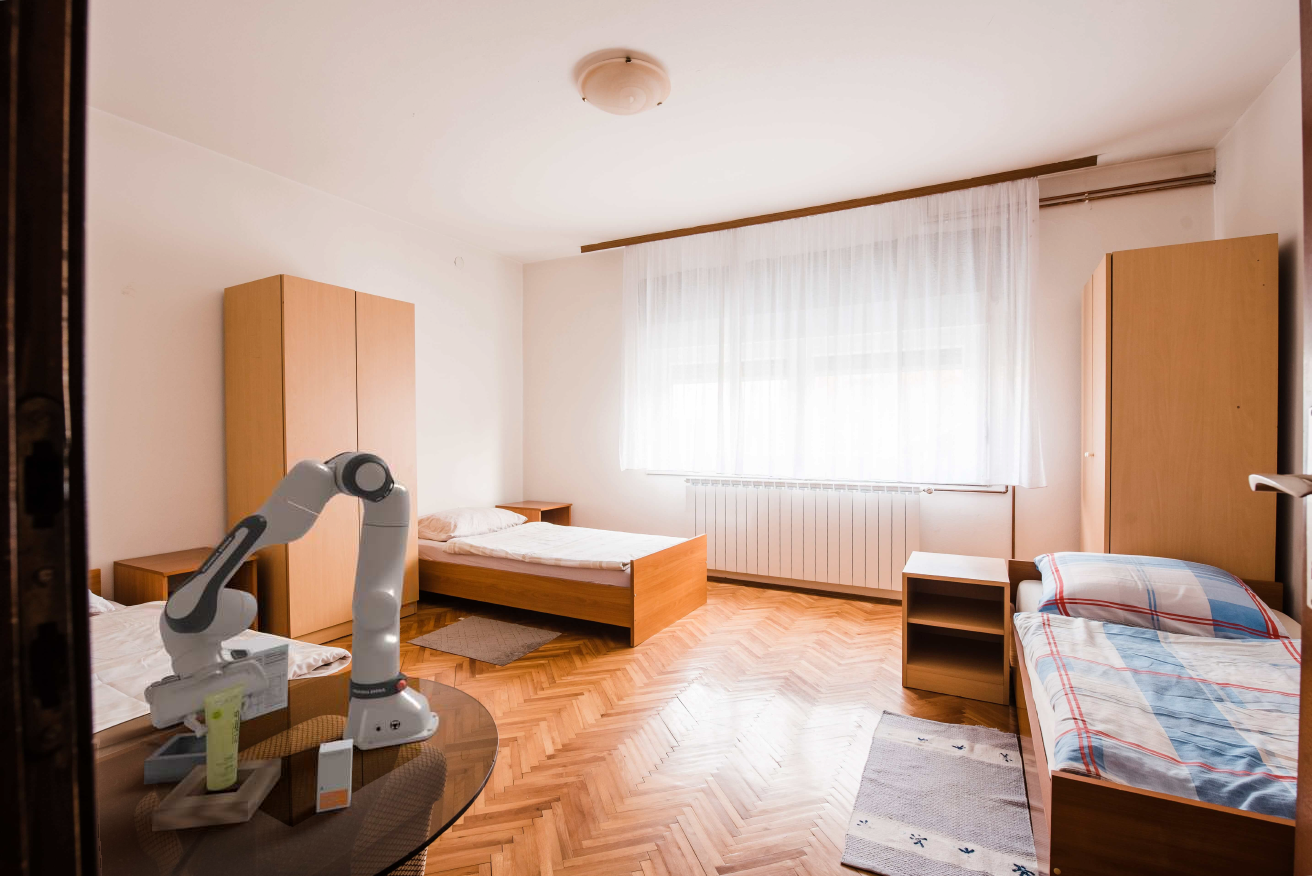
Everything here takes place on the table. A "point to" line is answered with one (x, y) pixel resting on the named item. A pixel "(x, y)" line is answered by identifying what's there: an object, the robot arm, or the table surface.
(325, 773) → the skincare box
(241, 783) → the walnut socket block
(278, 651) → the supplement box
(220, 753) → the tube
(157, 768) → the graphite collar stand
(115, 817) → the table surface
